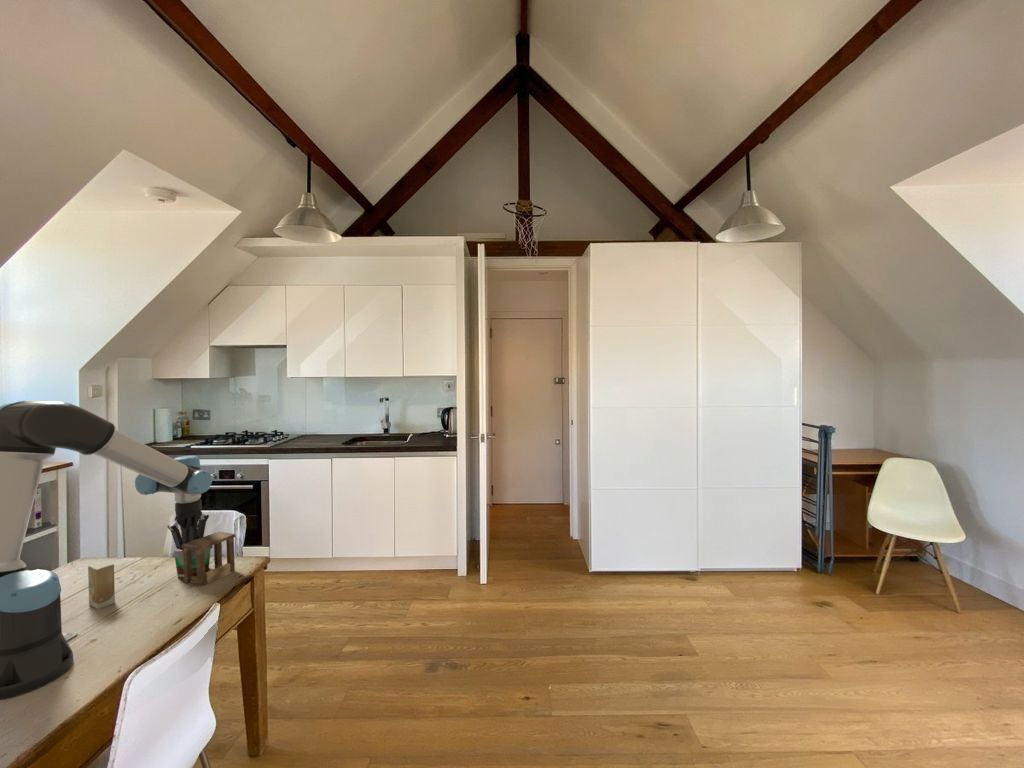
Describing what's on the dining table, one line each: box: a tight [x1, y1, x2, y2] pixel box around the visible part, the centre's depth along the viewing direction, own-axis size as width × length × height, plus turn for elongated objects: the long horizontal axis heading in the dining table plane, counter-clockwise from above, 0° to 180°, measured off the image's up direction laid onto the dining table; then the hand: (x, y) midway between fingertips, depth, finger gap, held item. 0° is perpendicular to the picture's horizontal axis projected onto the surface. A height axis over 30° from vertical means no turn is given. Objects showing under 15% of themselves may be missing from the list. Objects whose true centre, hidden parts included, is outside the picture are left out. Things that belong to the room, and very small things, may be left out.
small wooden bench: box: [182, 531, 236, 587], centre depth 154 cm, size 13×8×13 cm, turn 159°
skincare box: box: [87, 560, 116, 610], centre depth 136 cm, size 6×4×12 cm
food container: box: [172, 545, 214, 580], centre depth 155 cm, size 12×6×10 cm, turn 156°
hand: (190, 566), depth 158 cm, fingers closed
